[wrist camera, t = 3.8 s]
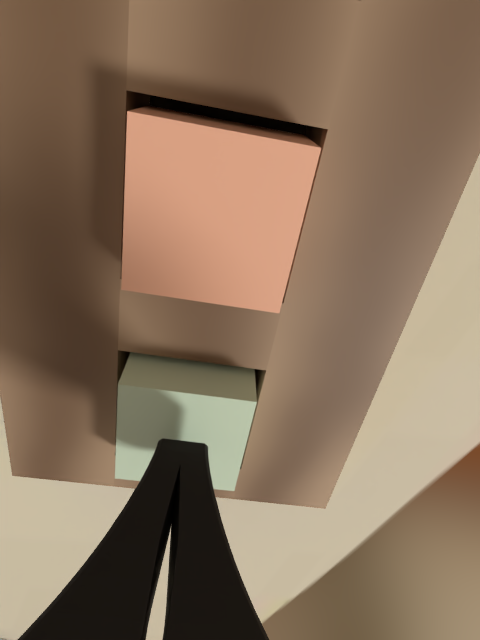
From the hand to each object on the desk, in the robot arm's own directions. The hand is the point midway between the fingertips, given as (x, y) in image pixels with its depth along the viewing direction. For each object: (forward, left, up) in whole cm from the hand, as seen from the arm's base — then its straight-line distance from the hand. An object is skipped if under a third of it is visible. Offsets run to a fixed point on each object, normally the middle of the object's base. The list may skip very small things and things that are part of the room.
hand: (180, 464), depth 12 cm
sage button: (0, 0, -3) cm, 3 cm away
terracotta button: (0, +7, -3) cm, 8 cm away
